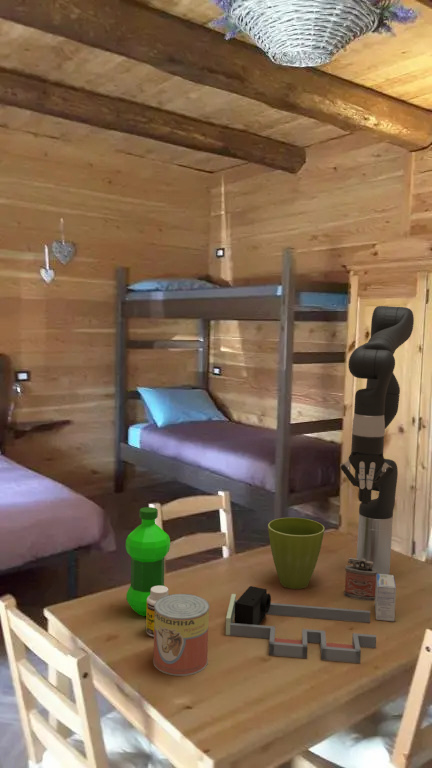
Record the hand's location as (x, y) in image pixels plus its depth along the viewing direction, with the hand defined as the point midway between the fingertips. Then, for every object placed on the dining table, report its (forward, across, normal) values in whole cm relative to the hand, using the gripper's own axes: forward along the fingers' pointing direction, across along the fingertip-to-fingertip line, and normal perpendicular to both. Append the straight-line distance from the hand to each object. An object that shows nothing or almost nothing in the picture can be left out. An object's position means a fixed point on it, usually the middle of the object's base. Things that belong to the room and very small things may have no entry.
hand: (364, 503), depth 158 cm
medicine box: (+27, -6, +1) cm, 28 cm away
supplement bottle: (+27, +46, +20) cm, 57 cm away
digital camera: (+27, +25, +12) cm, 39 cm away
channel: (+27, +15, +16) cm, 34 cm away
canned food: (+27, +39, +31) cm, 57 cm away
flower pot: (+27, +16, -13) cm, 34 cm away
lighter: (+27, -1, -8) cm, 28 cm away
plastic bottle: (+27, +51, +10) cm, 59 cm away
